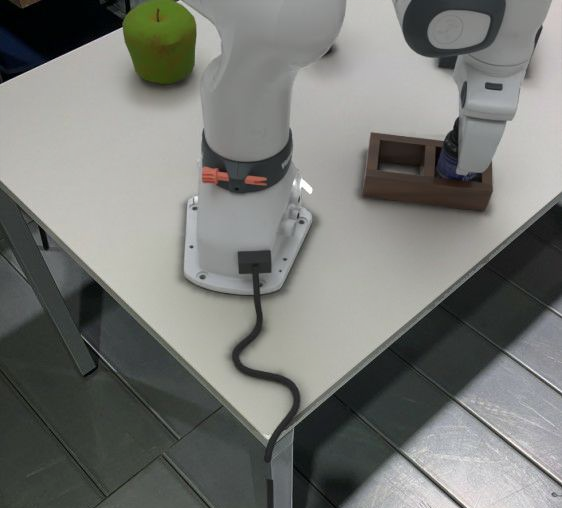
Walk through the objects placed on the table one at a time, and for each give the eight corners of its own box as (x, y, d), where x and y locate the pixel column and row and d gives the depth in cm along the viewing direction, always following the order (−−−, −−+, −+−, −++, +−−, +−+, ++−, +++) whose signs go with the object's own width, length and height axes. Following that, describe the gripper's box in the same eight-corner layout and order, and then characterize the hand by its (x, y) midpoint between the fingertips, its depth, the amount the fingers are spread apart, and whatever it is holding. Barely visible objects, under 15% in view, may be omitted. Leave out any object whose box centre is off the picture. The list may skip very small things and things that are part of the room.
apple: (143, 49, 114) (132, -16, 105) (208, 57, 113) (202, -7, 104) (122, 89, 108) (108, 24, 98) (190, 99, 107) (182, 34, 97)
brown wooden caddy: (484, 211, 94) (493, 191, 91) (361, 196, 95) (365, 175, 92) (483, 167, 99) (491, 146, 96) (367, 153, 101) (370, 131, 97)
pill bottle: (461, 204, 95) (483, 143, 86) (425, 188, 97) (442, 127, 87) (477, 180, 98) (499, 119, 88) (442, 166, 99) (460, 105, 90)
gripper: (465, 21, 86) (441, 109, 98) (465, 112, 75) (438, 199, 87) (511, 26, 86) (482, 114, 97) (517, 118, 75) (483, 204, 87)
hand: (461, 155), depth 92 cm, fingers closed on pill bottle, 6 cm apart
